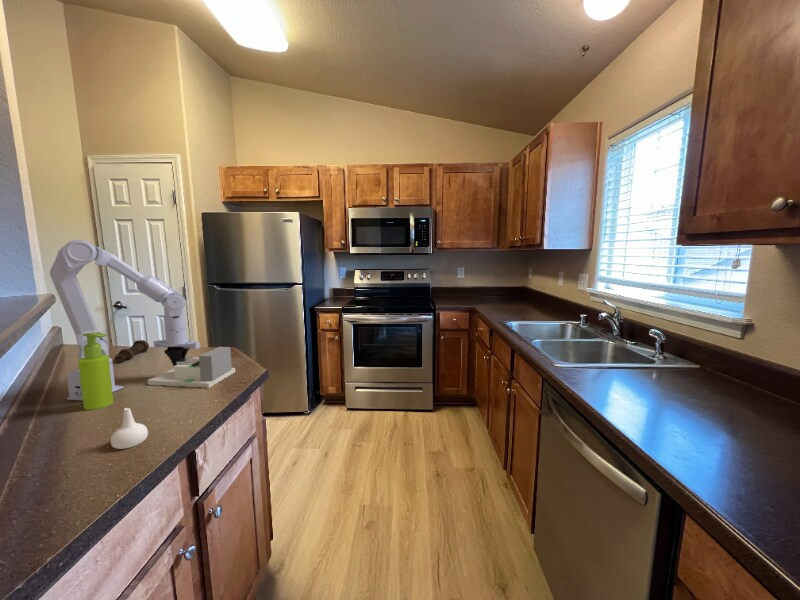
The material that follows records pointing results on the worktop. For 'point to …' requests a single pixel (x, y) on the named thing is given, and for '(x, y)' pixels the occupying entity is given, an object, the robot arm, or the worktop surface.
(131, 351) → the bolt
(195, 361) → the grey block with bar
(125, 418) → the garlic bulb
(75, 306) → the robot arm
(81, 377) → the soap dispenser
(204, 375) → the architectural block model
